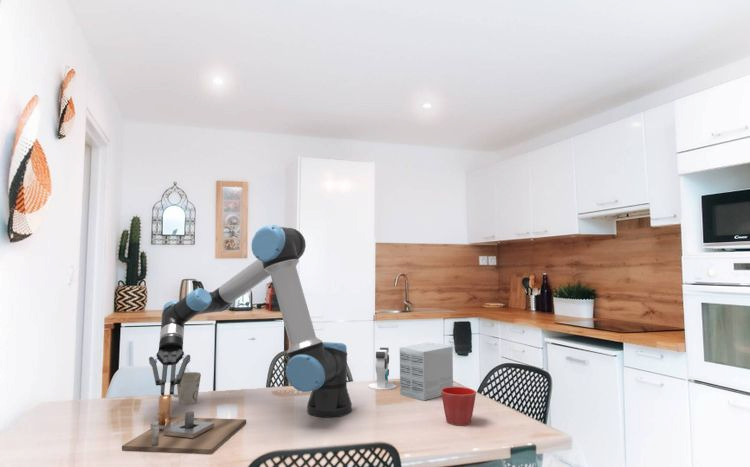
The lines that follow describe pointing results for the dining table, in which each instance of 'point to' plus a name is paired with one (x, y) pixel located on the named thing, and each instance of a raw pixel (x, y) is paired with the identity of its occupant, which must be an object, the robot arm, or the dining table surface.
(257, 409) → the dining table surface
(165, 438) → the post board
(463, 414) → the flower pot
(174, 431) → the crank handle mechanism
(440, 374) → the gray vented cabinet
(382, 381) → the white grey upright piece
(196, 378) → the mug
